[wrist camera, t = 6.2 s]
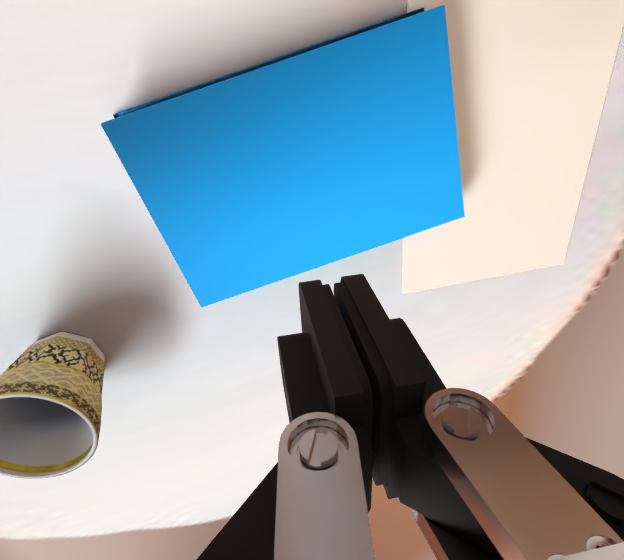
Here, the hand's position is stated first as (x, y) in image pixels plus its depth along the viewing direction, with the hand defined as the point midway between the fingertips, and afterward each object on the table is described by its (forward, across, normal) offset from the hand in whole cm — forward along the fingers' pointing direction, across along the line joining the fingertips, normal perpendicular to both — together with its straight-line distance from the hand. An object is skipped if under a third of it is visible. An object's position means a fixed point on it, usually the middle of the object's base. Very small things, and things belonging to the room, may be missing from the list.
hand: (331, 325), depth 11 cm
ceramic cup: (+28, +23, +21) cm, 41 cm away
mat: (+27, -22, +2) cm, 35 cm away
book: (+27, -3, +3) cm, 28 cm away
